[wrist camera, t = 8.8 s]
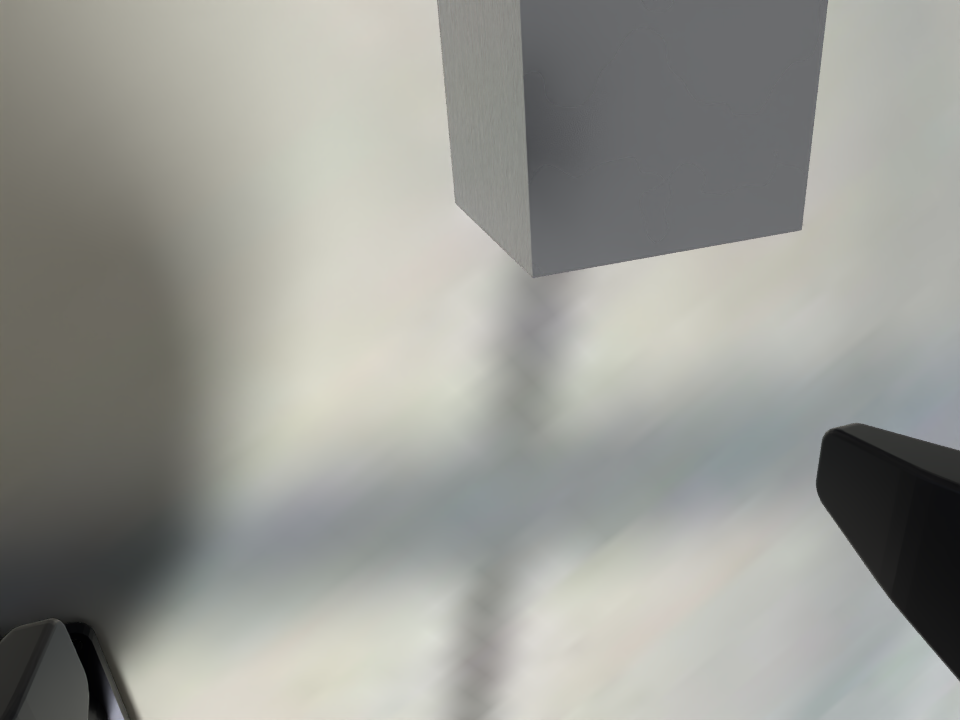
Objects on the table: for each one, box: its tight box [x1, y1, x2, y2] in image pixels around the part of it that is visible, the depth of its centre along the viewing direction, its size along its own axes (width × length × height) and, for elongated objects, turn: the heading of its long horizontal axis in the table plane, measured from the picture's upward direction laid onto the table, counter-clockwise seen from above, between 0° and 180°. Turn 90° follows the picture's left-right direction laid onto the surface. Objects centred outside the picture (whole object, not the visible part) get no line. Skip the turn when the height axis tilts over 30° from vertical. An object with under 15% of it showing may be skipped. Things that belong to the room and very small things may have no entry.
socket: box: [437, 0, 828, 278], centre depth 17 cm, size 7×6×6 cm
